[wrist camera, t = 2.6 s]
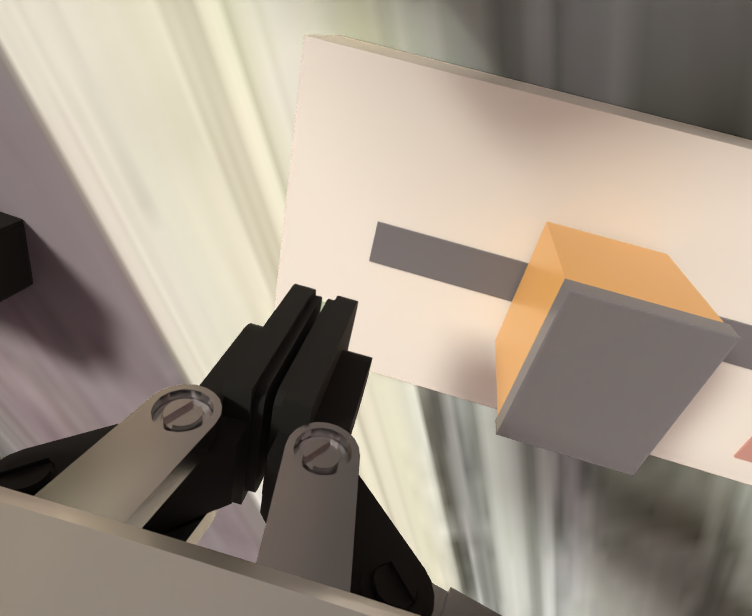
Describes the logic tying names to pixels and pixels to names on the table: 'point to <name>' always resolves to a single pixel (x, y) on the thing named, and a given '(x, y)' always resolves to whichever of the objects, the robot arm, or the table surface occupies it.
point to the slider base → (503, 218)
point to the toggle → (602, 349)
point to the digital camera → (13, 257)
